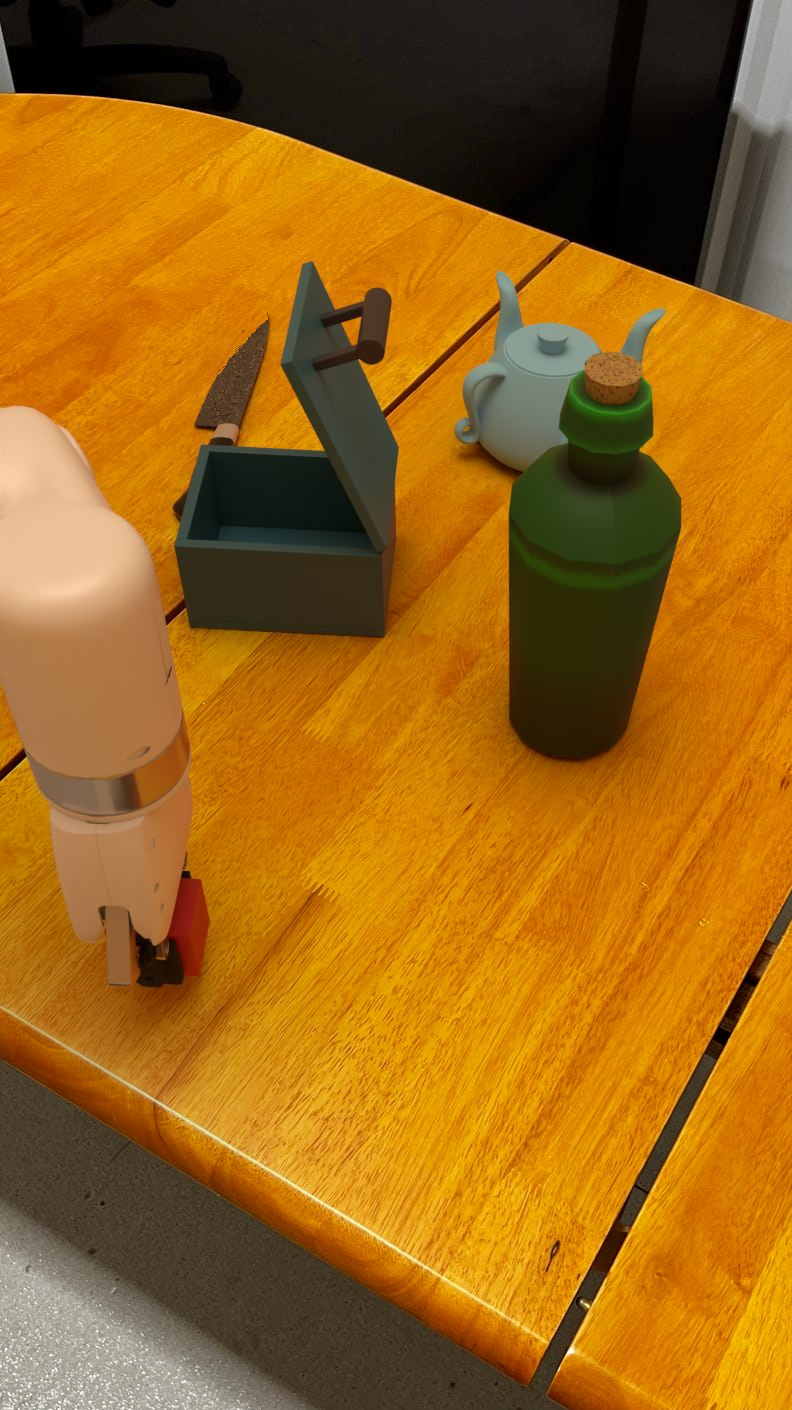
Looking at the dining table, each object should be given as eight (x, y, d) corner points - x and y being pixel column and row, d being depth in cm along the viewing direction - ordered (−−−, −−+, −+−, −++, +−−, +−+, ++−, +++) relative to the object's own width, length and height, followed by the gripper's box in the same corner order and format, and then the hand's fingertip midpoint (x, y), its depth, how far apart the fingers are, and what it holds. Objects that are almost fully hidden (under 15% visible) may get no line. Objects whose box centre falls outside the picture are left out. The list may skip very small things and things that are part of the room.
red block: (117, 972, 77) (103, 932, 73) (130, 915, 79) (117, 873, 75) (199, 977, 77) (189, 937, 73) (210, 920, 79) (201, 878, 76)
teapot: (431, 463, 111) (432, 354, 103) (496, 369, 119) (502, 261, 111) (595, 510, 108) (609, 401, 100) (650, 409, 116) (667, 302, 108)
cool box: (189, 627, 98) (173, 545, 92) (213, 526, 105) (200, 443, 99) (384, 637, 98) (382, 556, 92) (396, 535, 105) (394, 454, 99)
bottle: (622, 658, 98) (682, 308, 75) (658, 766, 92) (735, 420, 69) (481, 672, 96) (499, 320, 74) (508, 782, 90) (537, 435, 68)
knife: (240, 317, 124) (236, 304, 123) (282, 316, 124) (279, 302, 123) (157, 531, 105) (152, 517, 104) (207, 530, 104) (203, 516, 103)
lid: (279, 364, 80) (363, 339, 79) (301, 263, 87) (379, 238, 85) (376, 552, 92) (452, 533, 90) (389, 450, 99) (459, 431, 97)
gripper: (68, 615, 68) (128, 828, 83) (-15, 882, 58) (69, 1069, 73) (214, 624, 68) (247, 835, 83) (155, 891, 58) (205, 1076, 73)
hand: (163, 943), depth 78 cm, fingers closed on red block, 4 cm apart
